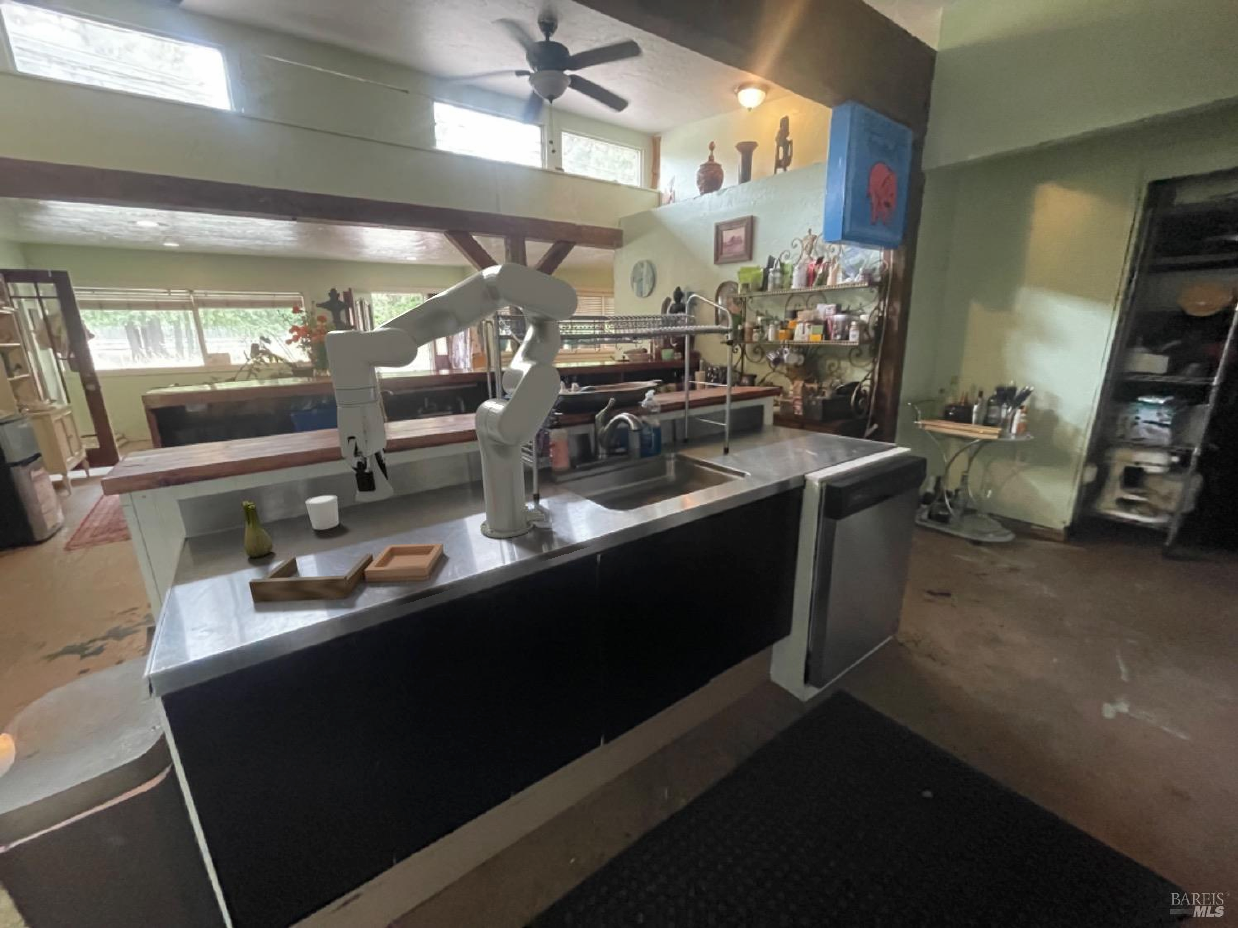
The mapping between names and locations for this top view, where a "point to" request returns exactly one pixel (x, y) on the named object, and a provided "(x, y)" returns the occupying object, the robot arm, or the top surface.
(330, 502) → the white tapered cylinder
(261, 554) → the fennel bulb
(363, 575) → the bay
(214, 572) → the top surface
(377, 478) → the flask
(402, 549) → the tray
